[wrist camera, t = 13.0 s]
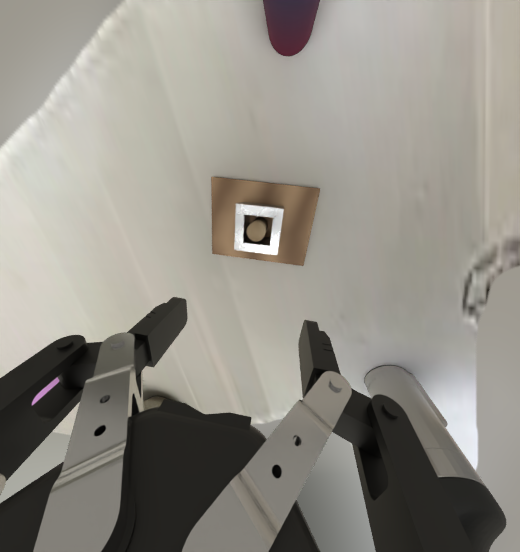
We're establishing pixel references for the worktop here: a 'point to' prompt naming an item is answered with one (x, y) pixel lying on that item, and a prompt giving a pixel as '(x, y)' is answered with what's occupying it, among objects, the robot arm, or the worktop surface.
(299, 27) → the cup
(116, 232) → the worktop surface
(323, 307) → the worktop surface
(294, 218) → the post board
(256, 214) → the collar
